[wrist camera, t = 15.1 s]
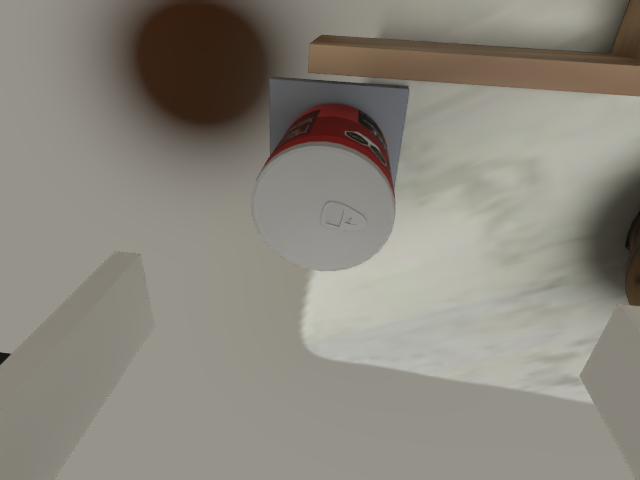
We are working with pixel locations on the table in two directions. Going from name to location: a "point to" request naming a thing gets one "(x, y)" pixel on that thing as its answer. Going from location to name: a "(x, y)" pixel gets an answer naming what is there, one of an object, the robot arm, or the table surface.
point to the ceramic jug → (633, 263)
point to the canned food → (326, 190)
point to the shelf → (488, 62)
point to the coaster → (369, 98)
